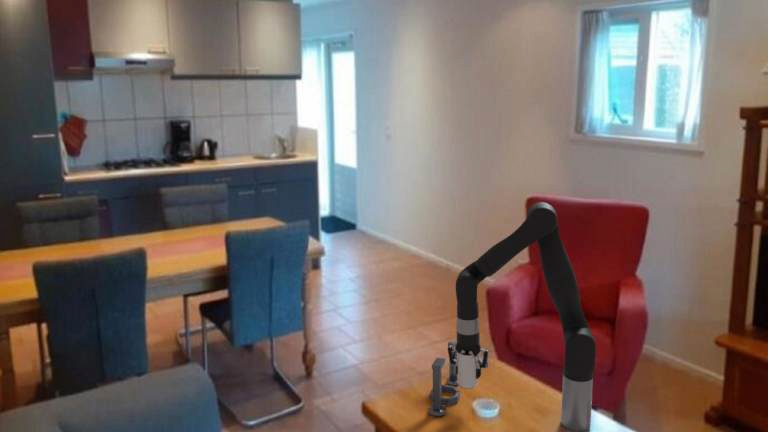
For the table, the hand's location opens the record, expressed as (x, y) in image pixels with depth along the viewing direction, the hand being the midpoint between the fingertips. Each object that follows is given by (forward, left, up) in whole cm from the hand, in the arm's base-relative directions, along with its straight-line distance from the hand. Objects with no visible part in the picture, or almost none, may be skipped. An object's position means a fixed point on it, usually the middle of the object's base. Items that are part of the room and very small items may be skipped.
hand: (468, 376), depth 209 cm
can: (0, 0, -3) cm, 3 cm away
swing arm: (+4, -15, 0) cm, 15 cm away
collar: (+10, -8, -14) cm, 19 cm away
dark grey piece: (+10, +3, -14) cm, 17 cm away
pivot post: (+10, -20, -14) cm, 26 cm away
